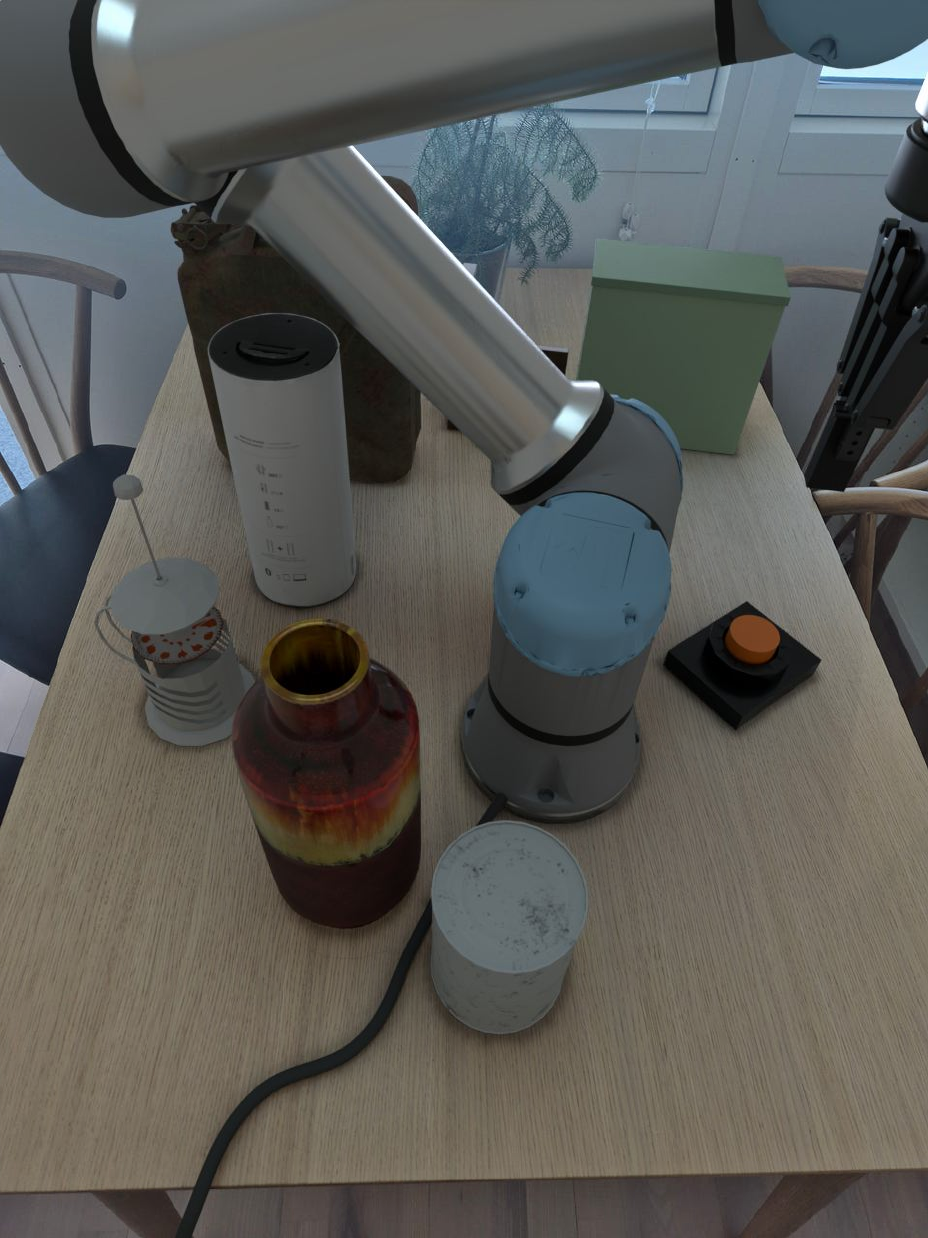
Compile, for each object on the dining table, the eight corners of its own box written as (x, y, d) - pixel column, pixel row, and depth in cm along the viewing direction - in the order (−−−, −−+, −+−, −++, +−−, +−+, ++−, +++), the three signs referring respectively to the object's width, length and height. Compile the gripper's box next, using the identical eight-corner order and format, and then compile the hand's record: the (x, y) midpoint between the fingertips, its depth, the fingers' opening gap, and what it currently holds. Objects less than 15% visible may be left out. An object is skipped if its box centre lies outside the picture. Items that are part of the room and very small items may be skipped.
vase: (389, 786, 68) (374, 561, 49) (445, 905, 62) (453, 700, 42) (258, 838, 65) (185, 618, 45) (303, 970, 58) (240, 779, 39)
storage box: (730, 411, 106) (781, 256, 91) (735, 456, 100) (791, 297, 84) (572, 393, 107) (596, 237, 92) (567, 435, 101) (592, 276, 86)
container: (423, 437, 100) (421, 173, 77) (412, 490, 93) (407, 218, 71) (239, 422, 101) (185, 156, 78) (216, 474, 94) (149, 199, 72)
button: (751, 672, 73) (757, 659, 72) (714, 640, 75) (719, 628, 74) (784, 650, 75) (790, 637, 73) (746, 620, 77) (752, 607, 76)
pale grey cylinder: (446, 1050, 55) (450, 991, 46) (418, 913, 61) (416, 836, 52) (581, 1016, 57) (611, 952, 48) (541, 885, 63) (560, 807, 54)
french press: (234, 755, 70) (163, 538, 51) (105, 732, 71) (-11, 511, 52) (273, 666, 76) (222, 443, 57) (154, 646, 77) (66, 421, 58)
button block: (735, 730, 73) (748, 704, 70) (662, 665, 78) (672, 637, 75) (813, 674, 78) (829, 647, 75) (740, 615, 82) (752, 587, 79)
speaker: (376, 555, 86) (361, 323, 67) (328, 623, 80) (296, 389, 60) (287, 527, 89) (248, 295, 69) (234, 591, 82) (174, 355, 63)
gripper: (1105, 185, 39) (892, 550, 56) (1023, 96, 47) (861, 437, 65) (940, 170, 39) (781, 536, 57) (889, 85, 48) (764, 426, 65)
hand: (823, 483), depth 61 cm, fingers closed
